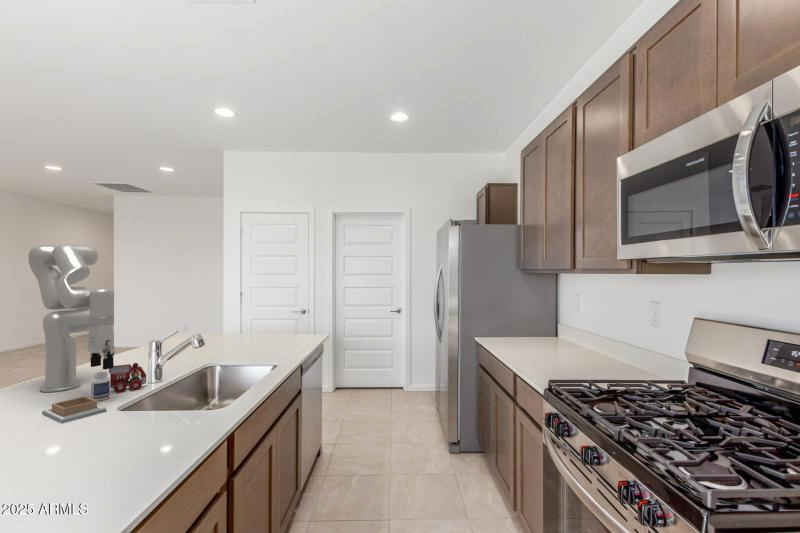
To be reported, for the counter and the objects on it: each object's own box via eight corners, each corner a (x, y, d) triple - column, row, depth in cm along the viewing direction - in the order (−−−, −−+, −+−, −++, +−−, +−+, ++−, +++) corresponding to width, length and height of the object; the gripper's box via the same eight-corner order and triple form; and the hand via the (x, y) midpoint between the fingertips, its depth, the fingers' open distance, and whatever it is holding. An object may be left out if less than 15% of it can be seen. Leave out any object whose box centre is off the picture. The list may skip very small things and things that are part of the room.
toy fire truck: (147, 388, 156) (147, 363, 156) (109, 394, 148) (109, 368, 148) (145, 384, 161) (145, 360, 162) (108, 390, 154) (108, 364, 154)
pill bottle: (113, 397, 145) (113, 371, 145) (97, 402, 140) (98, 375, 140) (103, 395, 147) (103, 370, 147) (87, 400, 142) (88, 374, 142)
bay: (42, 413, 128) (42, 403, 128) (85, 403, 138) (85, 393, 138) (61, 423, 120) (62, 412, 120) (106, 411, 130) (106, 401, 130)
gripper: (79, 322, 145) (79, 367, 144) (100, 323, 136) (100, 372, 136) (102, 319, 151) (102, 363, 151) (124, 321, 142) (124, 367, 142)
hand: (101, 367), depth 143 cm, fingers open, 9 cm apart
